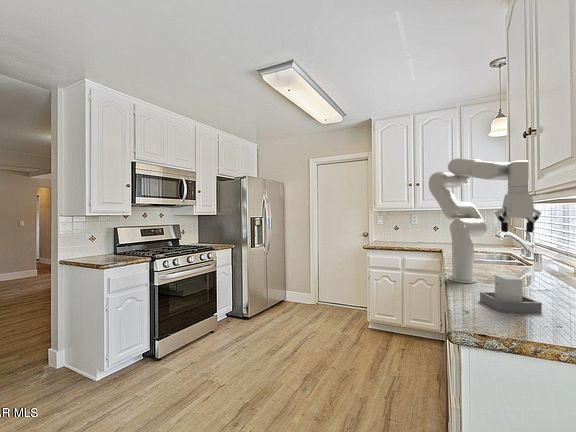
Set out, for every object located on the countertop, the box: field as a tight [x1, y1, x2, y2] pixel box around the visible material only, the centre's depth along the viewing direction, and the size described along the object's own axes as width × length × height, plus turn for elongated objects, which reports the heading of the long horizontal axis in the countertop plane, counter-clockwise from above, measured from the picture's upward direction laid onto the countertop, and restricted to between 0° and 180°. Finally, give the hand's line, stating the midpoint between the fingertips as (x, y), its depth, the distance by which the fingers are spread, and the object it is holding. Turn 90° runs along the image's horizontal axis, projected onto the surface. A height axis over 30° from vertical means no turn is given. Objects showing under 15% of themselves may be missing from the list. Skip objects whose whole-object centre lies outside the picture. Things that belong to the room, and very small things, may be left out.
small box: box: [494, 274, 523, 302], centre depth 116 cm, size 8×6×10 cm
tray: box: [479, 291, 543, 314], centre depth 116 cm, size 14×14×4 cm
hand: (517, 232), depth 130 cm, fingers open, 9 cm apart
